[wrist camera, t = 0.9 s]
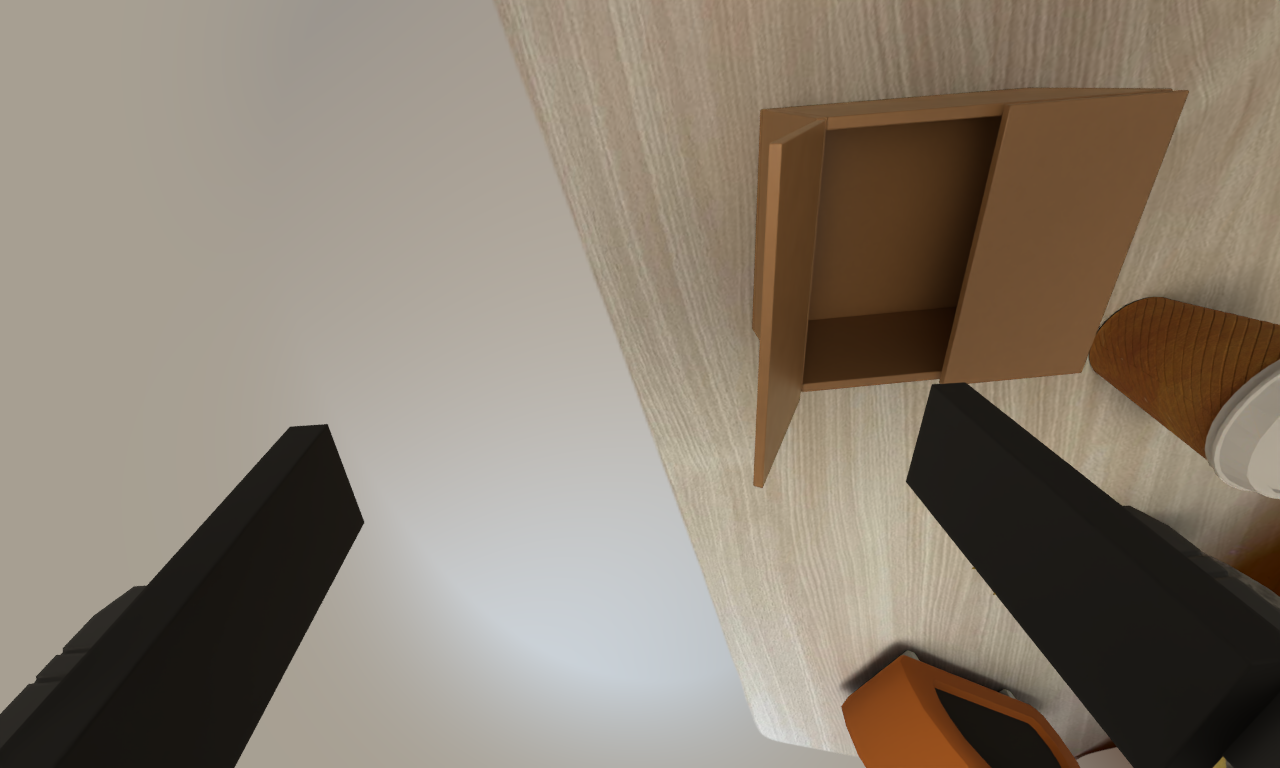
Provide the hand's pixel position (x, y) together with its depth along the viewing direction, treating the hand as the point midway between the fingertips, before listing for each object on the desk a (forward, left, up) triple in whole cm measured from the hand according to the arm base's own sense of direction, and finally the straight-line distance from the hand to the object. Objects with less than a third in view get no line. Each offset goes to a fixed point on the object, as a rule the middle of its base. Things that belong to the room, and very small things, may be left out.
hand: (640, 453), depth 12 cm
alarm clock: (+52, +30, -23) cm, 64 cm away
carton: (+1, +16, -22) cm, 28 cm away
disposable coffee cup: (+11, +36, -23) cm, 44 cm away
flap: (+1, +7, -10) cm, 12 cm away
